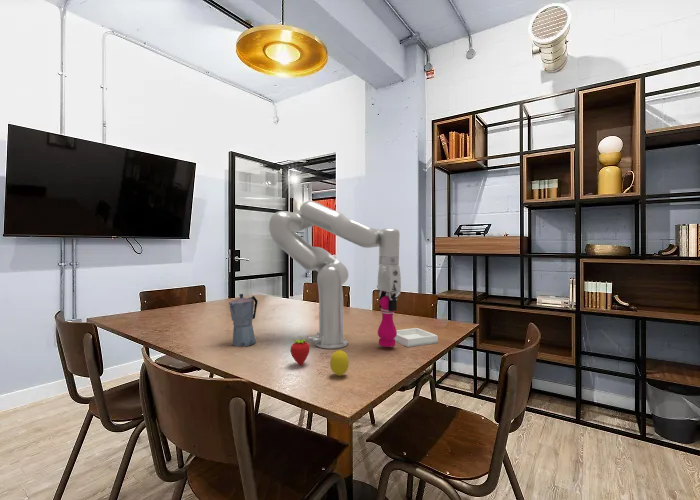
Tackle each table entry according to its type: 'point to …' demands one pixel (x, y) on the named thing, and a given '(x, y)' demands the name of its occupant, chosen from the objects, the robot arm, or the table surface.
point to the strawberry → (300, 351)
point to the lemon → (339, 362)
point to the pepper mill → (386, 324)
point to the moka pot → (243, 320)
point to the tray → (415, 337)
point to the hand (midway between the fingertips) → (387, 308)
